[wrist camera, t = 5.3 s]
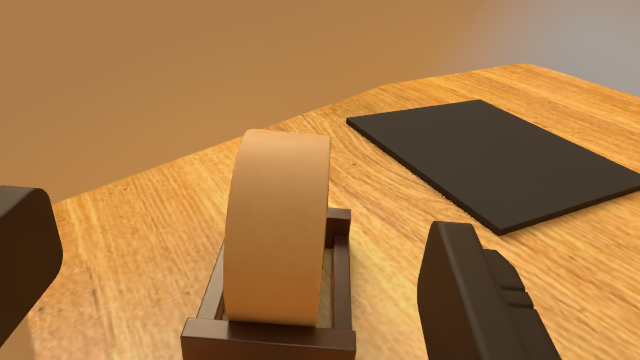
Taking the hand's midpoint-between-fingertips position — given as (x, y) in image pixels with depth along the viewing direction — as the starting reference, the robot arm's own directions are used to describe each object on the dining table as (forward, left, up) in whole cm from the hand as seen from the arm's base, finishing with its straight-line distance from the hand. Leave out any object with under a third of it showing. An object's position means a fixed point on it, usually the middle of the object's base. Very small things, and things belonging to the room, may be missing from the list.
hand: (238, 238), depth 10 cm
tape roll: (-11, +6, -13) cm, 18 cm away
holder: (-11, +6, -13) cm, 18 cm away
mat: (-21, +33, -13) cm, 41 cm away
